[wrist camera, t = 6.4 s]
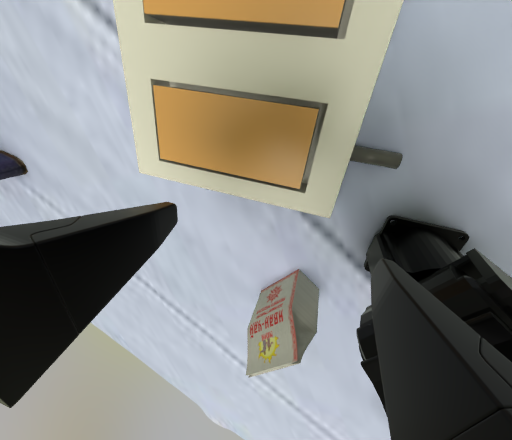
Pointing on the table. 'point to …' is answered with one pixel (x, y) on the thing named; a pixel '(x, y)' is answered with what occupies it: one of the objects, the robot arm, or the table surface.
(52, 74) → the table surface
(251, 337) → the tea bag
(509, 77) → the table surface
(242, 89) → the cream board with panels
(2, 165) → the flask
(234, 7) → the orange drawer
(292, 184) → the orange cabinet drawer
